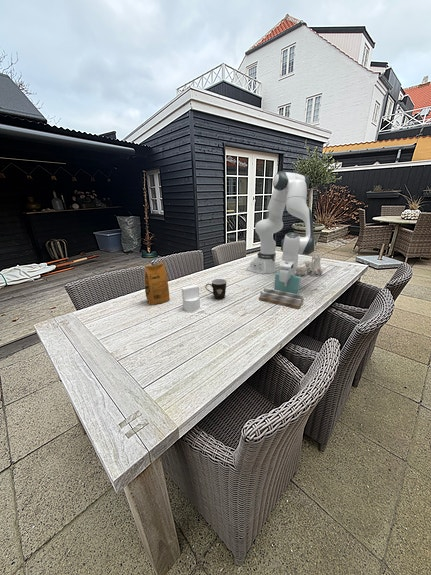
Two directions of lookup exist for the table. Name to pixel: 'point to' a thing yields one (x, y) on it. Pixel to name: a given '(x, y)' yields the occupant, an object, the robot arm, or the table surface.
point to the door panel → (292, 284)
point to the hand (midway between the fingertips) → (286, 284)
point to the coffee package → (156, 284)
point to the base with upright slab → (191, 298)
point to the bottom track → (281, 298)
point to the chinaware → (311, 267)
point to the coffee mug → (218, 288)
